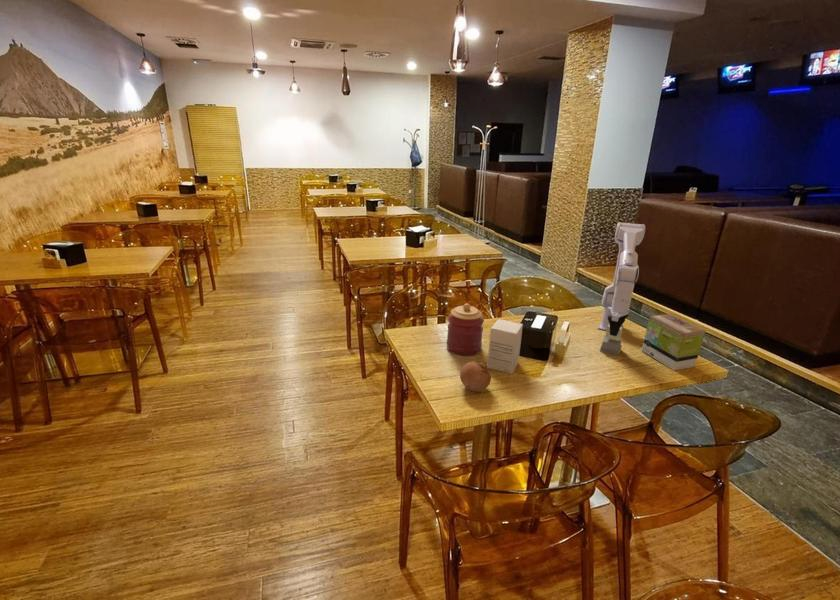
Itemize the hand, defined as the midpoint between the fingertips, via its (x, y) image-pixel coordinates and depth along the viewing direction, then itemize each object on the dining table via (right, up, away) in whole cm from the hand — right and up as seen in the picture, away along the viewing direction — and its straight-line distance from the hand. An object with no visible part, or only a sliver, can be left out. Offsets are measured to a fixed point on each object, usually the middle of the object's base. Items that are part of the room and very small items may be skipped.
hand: (614, 333), depth 155 cm
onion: (-55, -16, -24) cm, 62 cm away
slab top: (0, -5, +2) cm, 5 cm away
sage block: (0, -2, +1) cm, 2 cm away
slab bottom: (0, -7, +3) cm, 8 cm away
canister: (-55, -6, +2) cm, 56 cm away
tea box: (+18, -10, -2) cm, 20 cm away
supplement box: (-43, -11, -10) cm, 45 cm away
